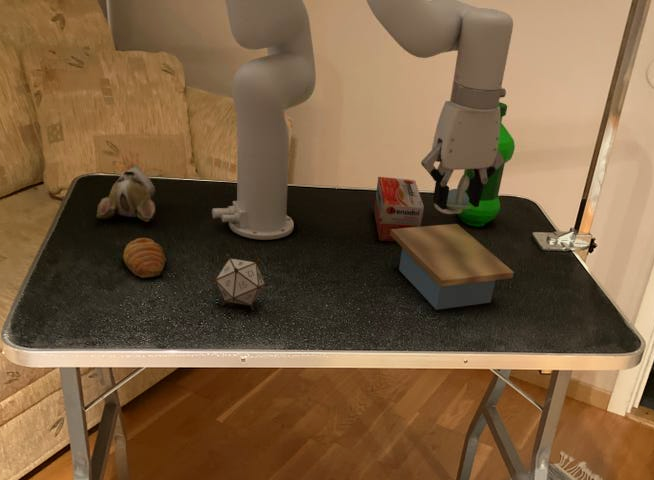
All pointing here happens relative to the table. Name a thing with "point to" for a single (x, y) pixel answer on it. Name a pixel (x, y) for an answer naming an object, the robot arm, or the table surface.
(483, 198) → the plastic bottle
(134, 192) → the ceramic sculpture
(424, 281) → the blue box
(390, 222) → the medicine box
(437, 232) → the board
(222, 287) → the game die
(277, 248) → the table surface
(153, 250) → the pastry
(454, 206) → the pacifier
